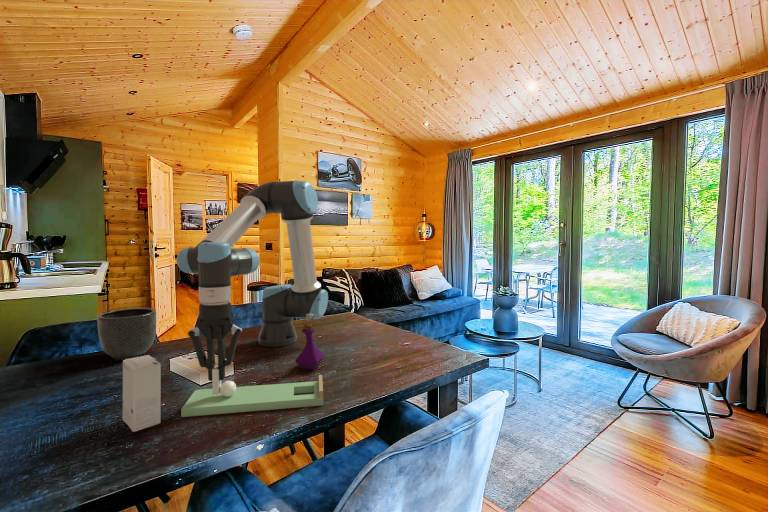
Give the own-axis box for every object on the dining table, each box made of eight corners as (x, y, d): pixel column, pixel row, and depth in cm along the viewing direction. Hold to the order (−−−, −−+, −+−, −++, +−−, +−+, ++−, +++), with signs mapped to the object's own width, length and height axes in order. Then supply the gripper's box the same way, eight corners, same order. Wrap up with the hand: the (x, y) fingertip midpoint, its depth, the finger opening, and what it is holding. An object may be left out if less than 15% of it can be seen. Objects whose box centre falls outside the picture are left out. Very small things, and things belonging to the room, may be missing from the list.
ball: (219, 382, 97) (233, 375, 97) (226, 395, 98) (240, 388, 98) (214, 389, 93) (229, 381, 94) (222, 402, 94) (237, 394, 94)
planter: (87, 361, 126) (85, 315, 125) (137, 347, 142) (135, 306, 141) (120, 368, 120) (118, 320, 119) (168, 352, 136) (167, 310, 135)
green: (195, 397, 100) (195, 383, 99) (322, 387, 106) (322, 374, 106) (181, 417, 89) (180, 401, 88) (323, 405, 95) (323, 391, 95)
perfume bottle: (316, 372, 117) (316, 317, 116) (294, 370, 119) (294, 316, 118) (325, 364, 125) (324, 312, 123) (304, 362, 126) (304, 311, 125)
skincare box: (122, 421, 87) (119, 359, 86) (150, 411, 91) (148, 353, 90) (133, 433, 81) (131, 368, 80) (163, 423, 86) (161, 361, 85)
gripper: (182, 305, 89) (184, 400, 90) (238, 304, 91) (240, 396, 93) (192, 300, 96) (194, 387, 98) (244, 299, 99) (246, 384, 100)
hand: (217, 392), depth 95 cm, fingers closed
